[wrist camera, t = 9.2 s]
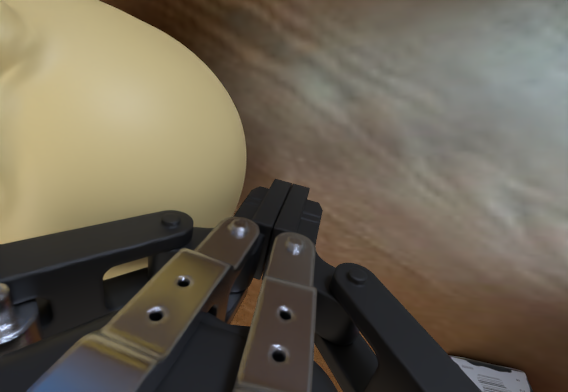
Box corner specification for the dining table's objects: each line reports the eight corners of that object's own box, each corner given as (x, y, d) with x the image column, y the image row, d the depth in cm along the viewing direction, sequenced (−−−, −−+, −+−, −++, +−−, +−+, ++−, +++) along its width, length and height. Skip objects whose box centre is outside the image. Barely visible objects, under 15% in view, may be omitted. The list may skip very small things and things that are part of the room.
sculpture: (83, -49, 15) (-408, -201, 5) (306, 100, 16) (238, 199, 6) (42, 152, 20) (-237, 258, 11) (211, 253, 21) (95, 432, 12)
